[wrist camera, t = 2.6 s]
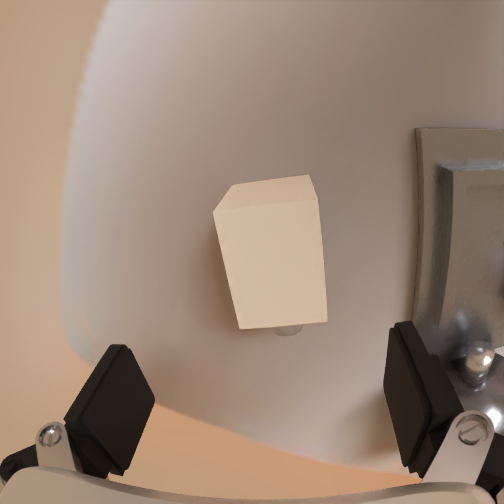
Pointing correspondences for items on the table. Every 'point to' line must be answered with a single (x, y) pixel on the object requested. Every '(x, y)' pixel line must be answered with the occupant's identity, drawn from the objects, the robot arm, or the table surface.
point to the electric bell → (463, 261)
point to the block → (273, 253)
